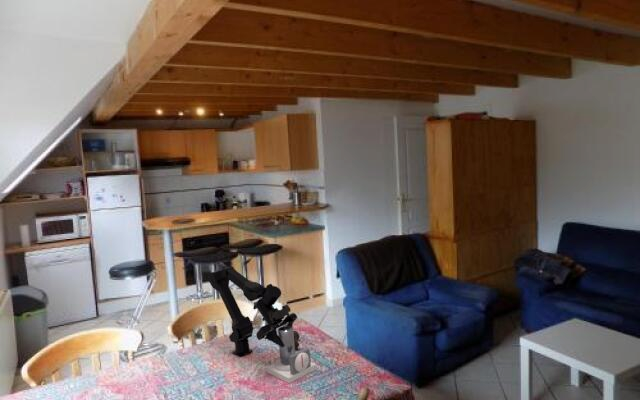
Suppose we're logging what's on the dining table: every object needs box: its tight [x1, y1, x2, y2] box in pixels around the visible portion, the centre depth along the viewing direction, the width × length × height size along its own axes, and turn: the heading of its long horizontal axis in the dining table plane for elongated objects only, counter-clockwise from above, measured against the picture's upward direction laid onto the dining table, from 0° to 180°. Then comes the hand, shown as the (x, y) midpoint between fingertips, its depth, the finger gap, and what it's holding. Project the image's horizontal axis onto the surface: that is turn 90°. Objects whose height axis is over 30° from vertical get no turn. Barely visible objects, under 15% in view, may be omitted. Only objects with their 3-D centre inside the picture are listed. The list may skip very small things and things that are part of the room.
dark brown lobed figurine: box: [293, 330, 301, 352], centre depth 193 cm, size 6×5×15 cm
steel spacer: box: [277, 326, 296, 364], centre depth 168 cm, size 6×6×13 cm
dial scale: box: [265, 347, 317, 384], centre depth 168 cm, size 14×14×9 cm
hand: (289, 343), depth 167 cm, fingers open, 6 cm apart
